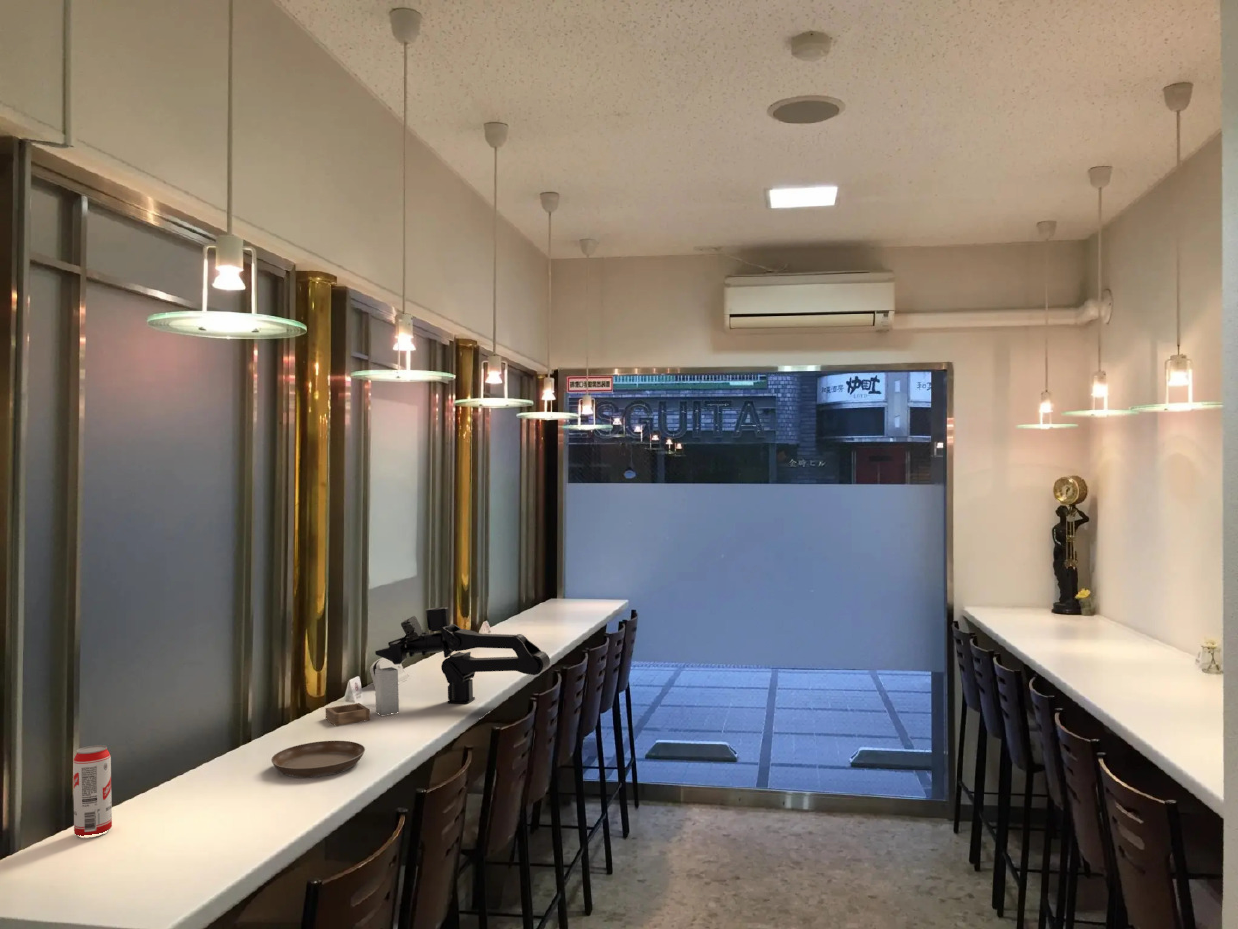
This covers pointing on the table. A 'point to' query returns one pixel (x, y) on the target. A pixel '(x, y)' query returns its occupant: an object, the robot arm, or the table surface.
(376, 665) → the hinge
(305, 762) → the plant saucer
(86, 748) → the beer can
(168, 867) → the table surface
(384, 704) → the grey block
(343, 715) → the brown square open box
